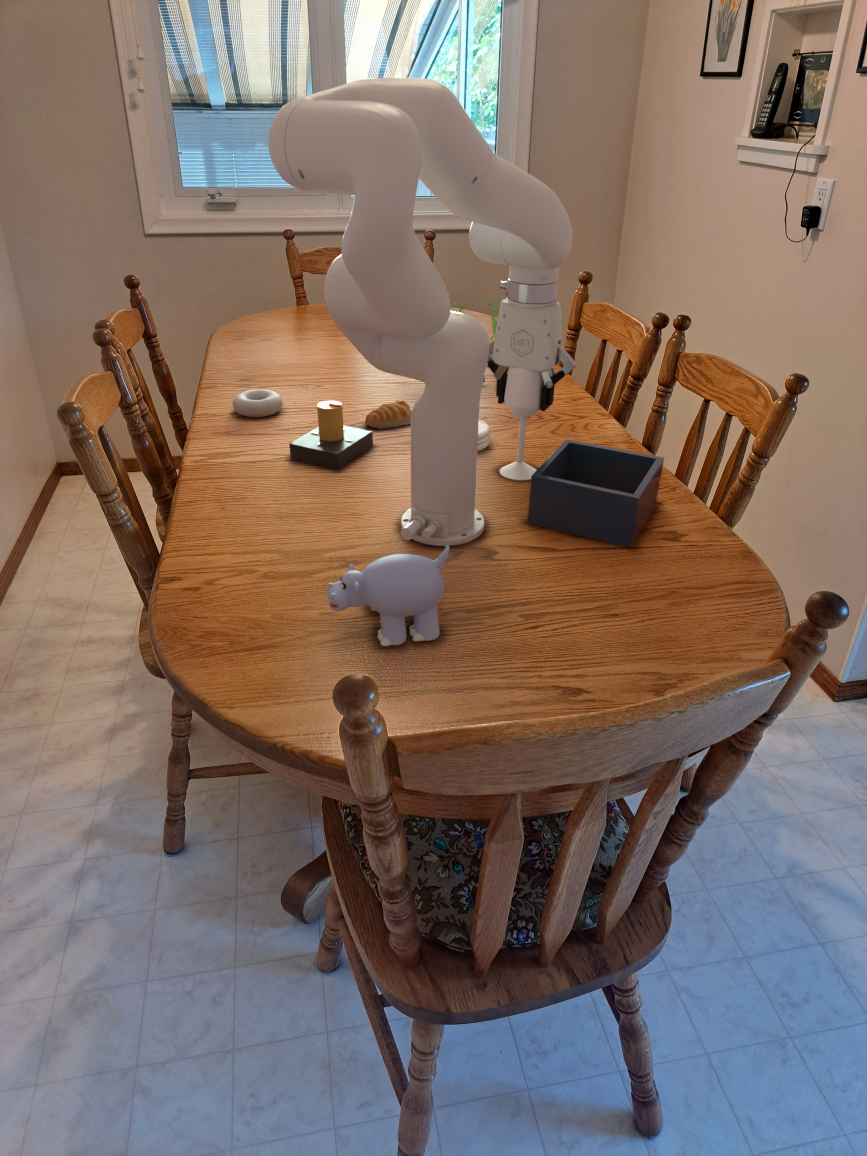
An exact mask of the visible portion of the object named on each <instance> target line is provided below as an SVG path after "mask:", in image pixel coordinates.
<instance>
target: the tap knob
mask: <svg viewBox="0 0 867 1156" xmlns="http://www.w3.org/2000/svg"><path fill="white" fill-rule="evenodd" d="M343 409H344V408H343V403H342V402H340V401H338V400H323V401H320V402H318V403H317V404H316V410H317V412H316V413H317V424H318V426H317V427H319V438H320V439H321V440H323V441H329V442H332V441H339V440H341V439H343V438H344V428H343V425H344V411H343Z"/></svg>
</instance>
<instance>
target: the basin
mask: <svg viewBox="0 0 867 1156" xmlns="http://www.w3.org/2000/svg"><path fill="white" fill-rule="evenodd" d="M664 461H665V457H663V456H657V455H653V454H648V453H647V454H646V453H641V452H636V451H630V450H625V449H621V448H614V447H609V446H604V445H599V444H594V443H588V442H582V441H578V440H572V439H564V440H563V441H562V443H561V444H560V445H559V446H558V447H557V448H556V449H555V450H554V451H553V452H552V454H550V455H549V456H548V457H547V458H546V460H545V461H544V462H542V464H541V465H540V466H539V467H538V468H537V469H536V471H535V472H534V474H533V475H532V476H531V479H530V486H529V487H530V488H529V499H528V500H529V501H528V509H527V510H528V512H527V524H529V525H534V526H537V527H541V528H546V529H551V530H555V531H559V532H562V533H567V534H570V535H571V534H572V535H575V536H580V537H584V538H589V539H593V540H596V541H601V542H605V543H611V544H614V545H619V546H624V547H627V548H631V547H632V546H633V544H634V542H635V541H636V539H637V538H638V536H639V534H640V532H641V531H642V529H643V527H644V526H645V523H646V522H647V520H648V518H649V516H651V513H652V511H653V510H654V508H655V506H656V504H657V499H658V495H659V488H660V484H661V477H662V472H663V467H664Z"/></svg>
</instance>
